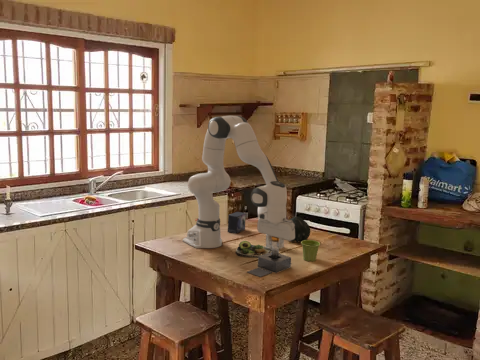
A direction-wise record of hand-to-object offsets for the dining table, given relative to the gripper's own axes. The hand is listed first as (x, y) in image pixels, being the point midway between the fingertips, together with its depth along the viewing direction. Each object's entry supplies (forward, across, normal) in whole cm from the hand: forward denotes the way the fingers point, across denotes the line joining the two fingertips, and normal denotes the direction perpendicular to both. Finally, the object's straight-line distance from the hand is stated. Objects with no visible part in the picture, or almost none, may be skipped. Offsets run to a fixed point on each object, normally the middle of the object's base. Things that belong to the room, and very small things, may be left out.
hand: (275, 245), depth 224 cm
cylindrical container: (+7, 0, 0) cm, 7 cm away
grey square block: (+11, 0, 0) cm, 11 cm away
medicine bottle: (+11, +19, -24) cm, 32 cm away
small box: (+11, +54, -30) cm, 63 cm away
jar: (+11, +52, -54) cm, 76 cm away
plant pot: (+11, -5, -22) cm, 25 cm away
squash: (+11, +19, -42) cm, 48 cm away
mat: (+11, 0, +10) cm, 15 cm away
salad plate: (+11, +22, -8) cm, 26 cm away
